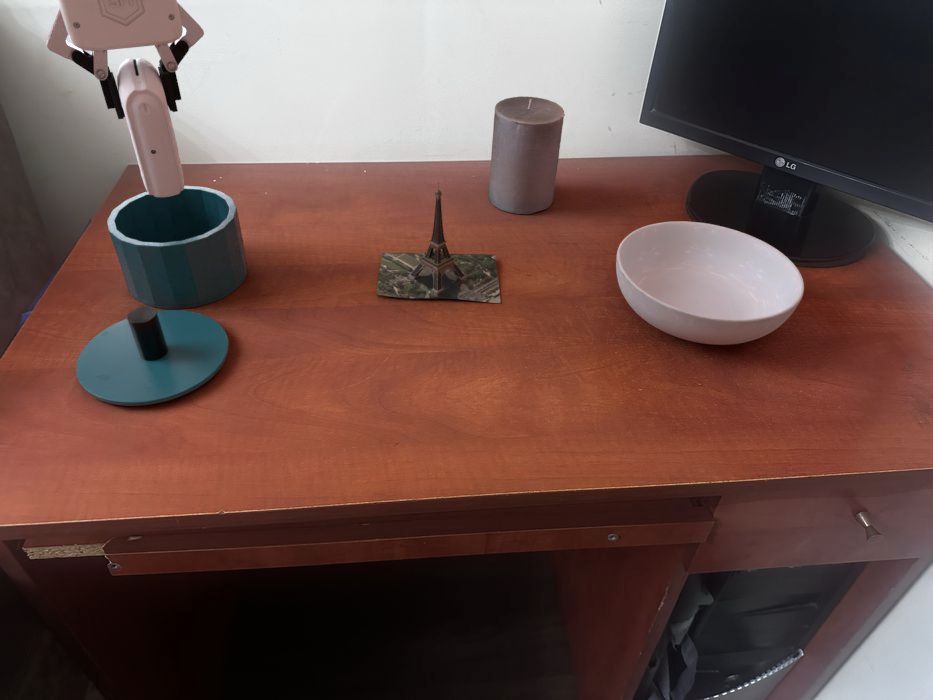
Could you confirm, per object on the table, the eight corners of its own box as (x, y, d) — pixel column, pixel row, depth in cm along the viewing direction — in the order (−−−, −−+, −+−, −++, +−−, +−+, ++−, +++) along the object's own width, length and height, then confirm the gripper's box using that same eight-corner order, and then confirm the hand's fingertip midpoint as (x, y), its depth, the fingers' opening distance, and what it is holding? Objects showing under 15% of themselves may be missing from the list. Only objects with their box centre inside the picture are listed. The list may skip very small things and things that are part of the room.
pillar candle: (494, 180, 110) (500, 83, 100) (556, 188, 109) (569, 91, 99) (482, 210, 102) (488, 108, 93) (549, 219, 101) (562, 117, 92)
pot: (136, 321, 80) (115, 257, 74) (121, 258, 90) (101, 198, 84) (260, 292, 85) (248, 230, 80) (233, 236, 95) (221, 177, 89)
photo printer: (189, 195, 76) (162, 78, 68) (146, 201, 74) (113, 82, 67) (179, 155, 83) (153, 46, 75) (140, 160, 82) (109, 49, 74)
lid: (85, 428, 67) (64, 381, 63) (73, 338, 77) (55, 292, 73) (244, 384, 73) (234, 338, 69) (214, 305, 83) (203, 260, 79)
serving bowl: (823, 337, 82) (846, 288, 78) (688, 393, 74) (705, 342, 70) (698, 250, 96) (711, 205, 92) (572, 290, 88) (580, 242, 83)
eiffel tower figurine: (496, 257, 93) (503, 162, 84) (500, 303, 85) (508, 203, 77) (382, 255, 92) (377, 159, 84) (375, 300, 85) (369, 200, 76)
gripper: (-16, -83, 57) (59, 137, 68) (201, -90, 63) (236, 112, 74) (-15, -97, 62) (55, 109, 73) (186, -103, 68) (221, 88, 80)
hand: (146, 109), depth 74 cm, fingers closed on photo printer, 4 cm apart
